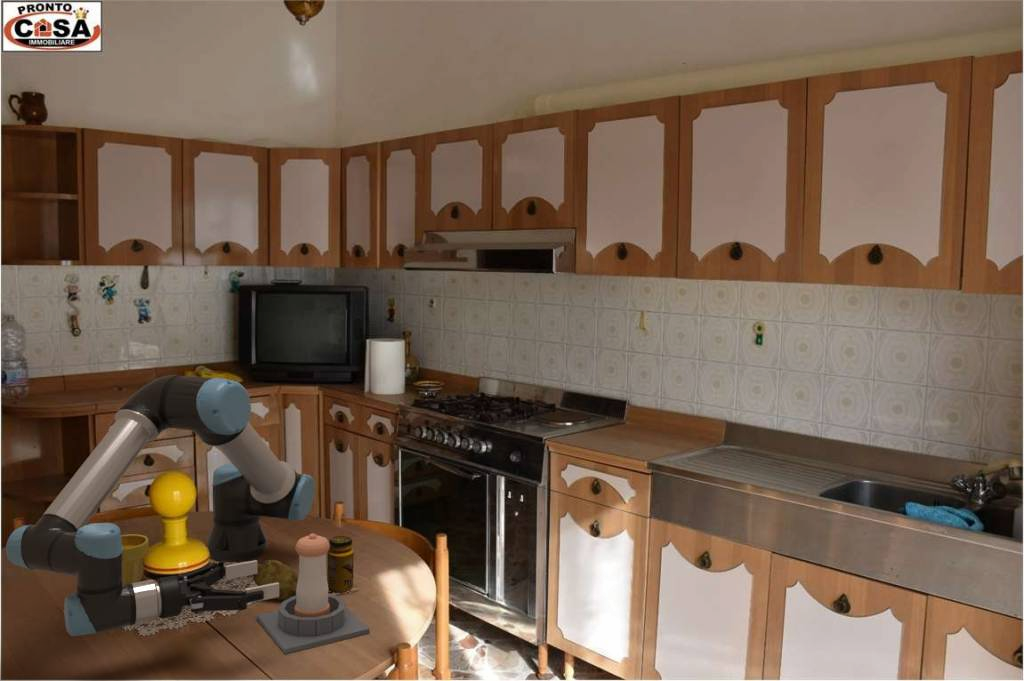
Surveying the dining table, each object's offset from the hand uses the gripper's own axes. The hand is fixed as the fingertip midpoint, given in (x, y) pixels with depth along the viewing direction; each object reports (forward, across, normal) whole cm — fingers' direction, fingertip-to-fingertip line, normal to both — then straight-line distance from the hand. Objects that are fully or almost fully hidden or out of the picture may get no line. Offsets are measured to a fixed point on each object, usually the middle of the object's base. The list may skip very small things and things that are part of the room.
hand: (267, 577), depth 173 cm
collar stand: (+10, 0, -13) cm, 16 cm away
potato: (+9, -18, -13) cm, 24 cm away
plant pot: (-19, -44, -13) cm, 50 cm away
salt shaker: (+10, 0, -12) cm, 15 cm away
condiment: (+22, -16, -13) cm, 30 cm away
